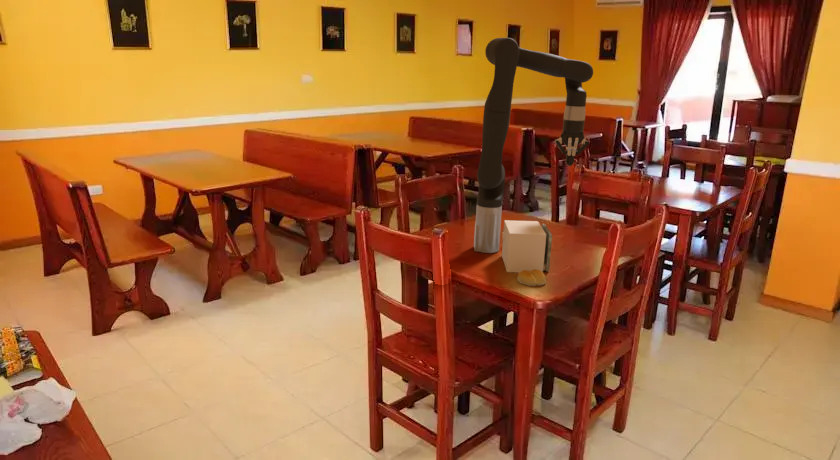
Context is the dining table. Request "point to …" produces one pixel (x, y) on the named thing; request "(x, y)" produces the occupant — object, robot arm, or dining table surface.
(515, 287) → the dining table surface
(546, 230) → the carrier
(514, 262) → the white upright box
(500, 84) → the robot arm
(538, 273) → the bread roll
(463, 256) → the dining table surface
